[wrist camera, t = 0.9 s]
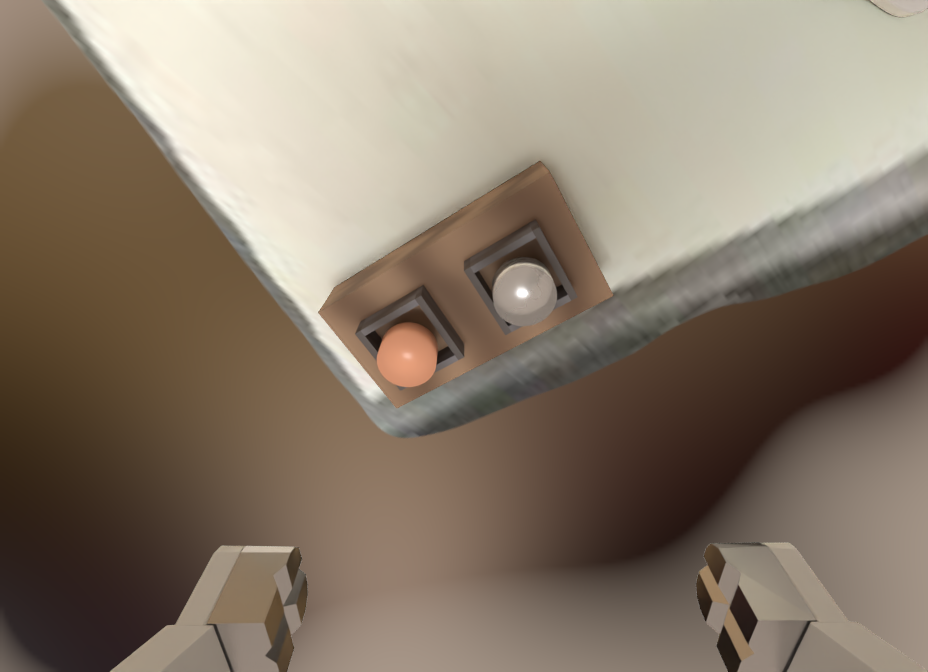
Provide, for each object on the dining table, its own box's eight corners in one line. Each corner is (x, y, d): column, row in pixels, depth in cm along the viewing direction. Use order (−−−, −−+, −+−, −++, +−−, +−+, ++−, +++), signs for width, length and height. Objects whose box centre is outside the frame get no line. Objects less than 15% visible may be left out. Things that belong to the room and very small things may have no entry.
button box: (540, 160, 36) (554, 177, 30) (597, 271, 40) (621, 306, 34) (334, 287, 41) (310, 324, 35) (403, 375, 45) (393, 423, 39)
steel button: (534, 245, 32) (538, 255, 30) (562, 295, 33) (567, 307, 31) (480, 276, 33) (481, 287, 31) (510, 323, 34) (512, 336, 32)
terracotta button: (417, 312, 34) (414, 325, 32) (448, 355, 35) (447, 370, 34) (369, 339, 35) (364, 353, 33) (402, 380, 36) (399, 396, 35)
